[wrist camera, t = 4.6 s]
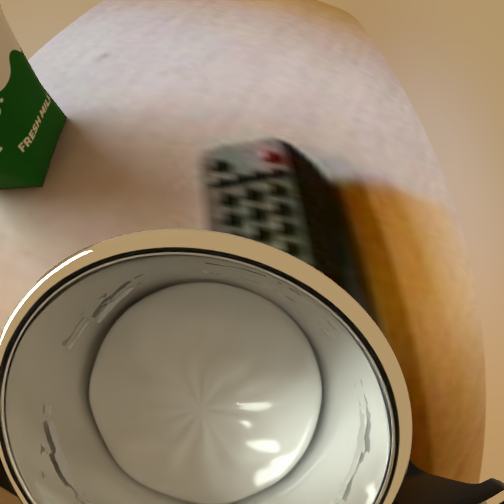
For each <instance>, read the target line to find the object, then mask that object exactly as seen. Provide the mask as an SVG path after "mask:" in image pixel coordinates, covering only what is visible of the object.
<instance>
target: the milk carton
mask: <svg viewBox="0 0 504 504" xmlns="http://www.w3.org/2000/svg"><path fill="white" fill-rule="evenodd" d="M66 118H67V117H66V116H65V114H64V113H63V112H62V111H61V109H60V108H59V107H58V105H57V104H56V103H55V102H54V100H53V99H52V98H51V97H50V95H49V94H48V93H47V91H46V90H45V89H44V88H43V86H42V85H41V83H40V82H39V80H38V78H37V76H36V75H35V73H34V71H33V69H32V68H31V66H30V64H29V62H28V60H27V59H26V57H25V55H24V53H23V51H22V50H21V48H20V46H19V44H18V42H17V40H16V38H15V36H14V34H13V32H12V30H11V28H10V26H9V24H8V22H7V20H6V18H5V16H4V14H3V11H2V9H1V6H0V189H6V188H22V187H42V185H43V182H44V178H45V175H46V172H47V169H48V166H49V163H50V160H51V157H52V154H53V151H54V149H55V146H56V143H57V141H58V138H59V136H60V133H61V130H62V128H63V126H64V123H65V121H66Z"/></svg>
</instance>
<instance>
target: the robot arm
mask: <svg viewBox="0 0 504 504" xmlns="http://www.w3.org/2000/svg"><path fill="white" fill-rule="evenodd" d="M503 490H504V483H502V482H501V481H499V480H496V479H493V478H491V479H489V480H486V481H484V482H482V483H479V484H469V483H463V482H459V481H455V480H451V479H447V478H443V477H440V476H436V475H432V474H429V473H427V472H424V471H423V470H421V469H420V468H418V467H417V466H416V465H415V464H414V463H413V462H411V461H410V460H409V464H408V468H407V472H406V475H405V478H404V481H403V484H402V487H401V489H400V492H399V494H398V496H397V498H396V500H395V502H394V504H487V503H486V500H487V499H489V498H491V497H493V496H494V495H496V494H498V493H499V492H501V491H503ZM0 504H22V503H21V501H20V500H19V498H18V497H17V495H16V493H15V492H14V490H13V488H12V486H11V485H10V483H9V481H8V479H7V477H6V474H5V472H4V470H3V468H2V465H1V463H0ZM499 504H504V501H503V502H501V503H499Z"/></svg>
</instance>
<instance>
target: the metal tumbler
mask: <svg viewBox="0 0 504 504" xmlns="http://www.w3.org/2000/svg"><path fill="white" fill-rule="evenodd" d="M411 445H412V412H411V405H410V399H409V394H408V390H407V386H406V382H405V379H404V376H403V373H402V370H401V368H400V365H399V363H398V361H397V358H396V356H395V354H394V352H393V350H392V348H391V347H390V345H389V343H388V341H387V340H386V338H385V336H384V335H383V333H382V332H381V330H380V329H379V327H378V326H377V325H376V323H375V322H374V321H373V320H372V318H371V317H370V316H369V315H368V314H367V312H366V311H365V310H364V309H363V308H362V307H361V306H360V305H359V304H358V302H357V301H355V300H354V299H353V298H352V297H351V296H350V295H349V294H348V293H347V292H346V291H345V290H343V289H342V288H341V287H340V286H339V285H337V284H336V283H335V282H334V281H332V280H331V279H330V278H328V277H327V276H326V275H324V274H323V273H321V272H320V271H318V270H317V269H315V268H314V267H312V266H310V265H309V264H307V263H305V262H303V261H301V260H300V259H298V258H296V257H294V256H292V255H290V254H288V253H286V252H283V251H281V250H279V249H277V248H274V247H271V246H269V245H266V244H263V243H260V242H257V241H254V240H251V239H248V238H244V237H240V236H236V235H232V234H227V233H222V232H216V231H208V230H199V229H180V228H178V229H155V230H147V231H140V232H134V233H129V234H125V235H120V236H117V237H113V238H110V239H107V240H104V241H101V242H98V243H96V244H93V245H91V246H89V247H86V248H84V249H82V250H80V251H78V252H76V253H75V254H73V255H71V256H69V257H68V258H66V259H64V260H63V261H61V262H60V263H58V264H57V265H56V266H54V267H53V268H52V269H50V270H49V271H48V272H46V273H45V274H44V275H43V276H42V277H41V278H40V279H39V280H38V281H37V282H36V283H35V284H34V285H33V286H32V287H31V288H30V289H29V290H28V291H27V292H26V293H25V295H24V296H23V297H22V298H21V300H20V301H19V302H18V304H17V305H16V307H15V308H14V310H13V311H12V313H11V315H10V316H9V318H8V320H7V322H6V323H5V325H4V328H3V330H2V332H1V334H0V463H1V465H2V468H3V470H4V472H5V474H6V477H7V479H8V481H9V483H10V485H11V486H12V488H13V490H14V492H15V493H16V495H17V497H18V498H19V500H20V501H21V503H22V504H394V502H395V500H396V498H397V496H398V494H399V492H400V489H401V487H402V484H403V481H404V478H405V475H406V472H407V468H408V464H409V459H410V453H411Z"/></svg>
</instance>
